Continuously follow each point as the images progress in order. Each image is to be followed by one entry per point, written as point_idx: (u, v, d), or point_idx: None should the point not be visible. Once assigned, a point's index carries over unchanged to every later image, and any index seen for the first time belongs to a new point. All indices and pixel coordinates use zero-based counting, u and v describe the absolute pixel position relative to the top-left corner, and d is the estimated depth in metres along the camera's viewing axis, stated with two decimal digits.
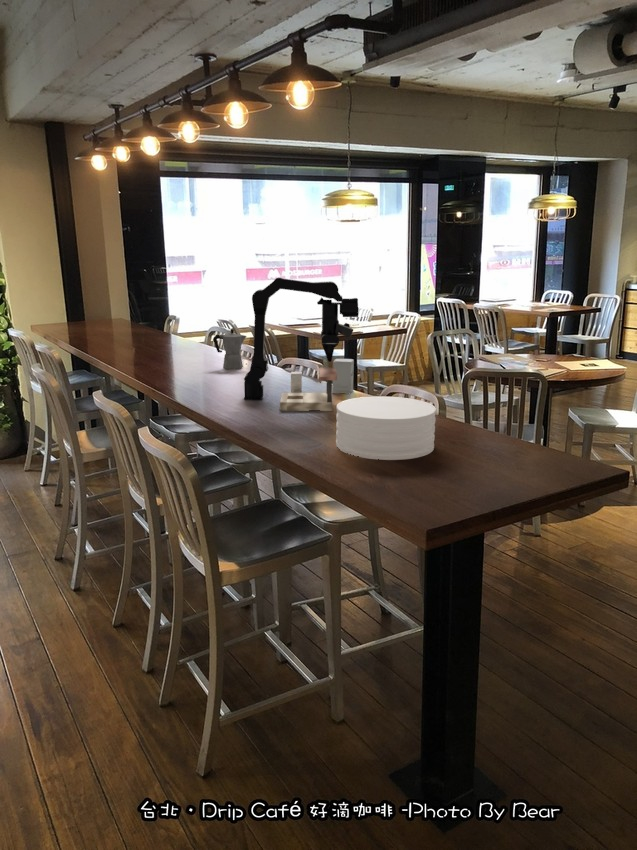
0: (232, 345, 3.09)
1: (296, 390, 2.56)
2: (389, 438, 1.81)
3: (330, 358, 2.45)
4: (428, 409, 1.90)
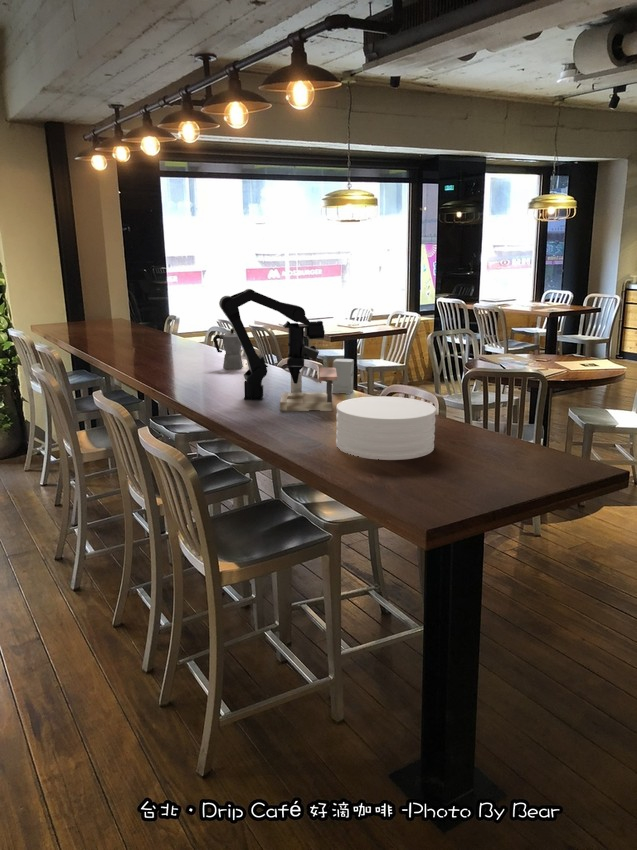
0: (232, 345, 3.09)
1: (296, 390, 2.56)
2: (389, 438, 1.81)
3: (295, 380, 2.51)
4: (428, 409, 1.90)
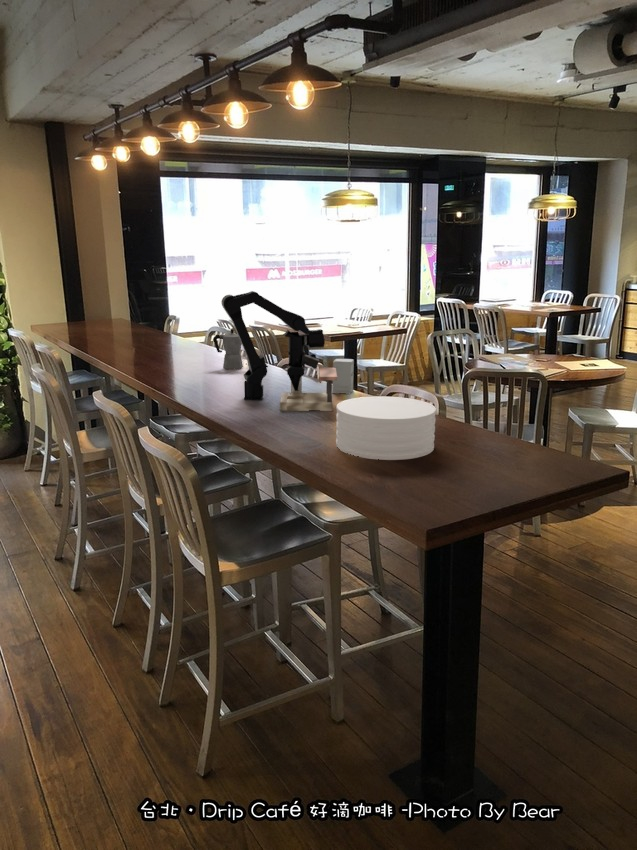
0: (232, 345, 3.09)
1: None
2: (389, 438, 1.81)
3: (296, 388, 2.55)
4: (428, 409, 1.90)
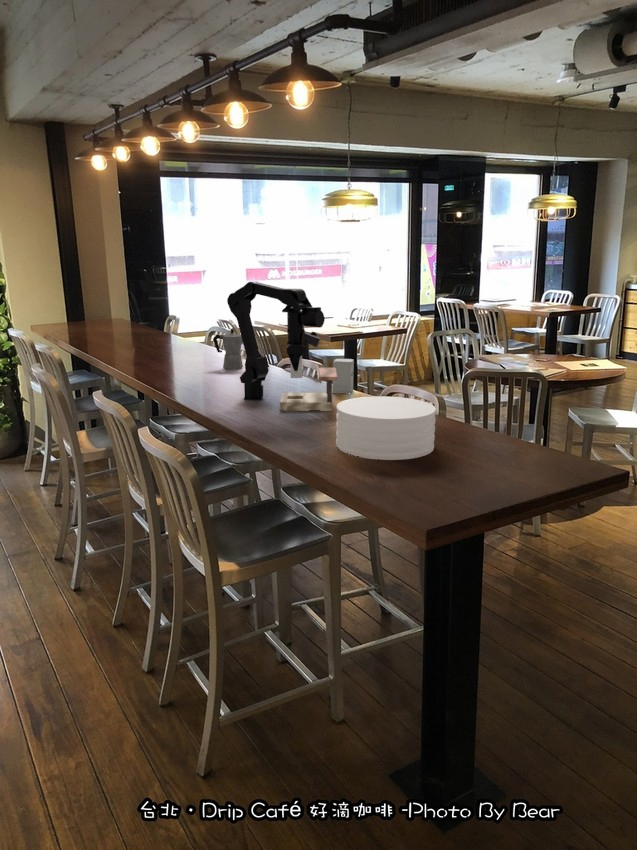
0: (232, 345, 3.09)
1: (296, 371, 2.39)
2: (389, 438, 1.81)
3: (296, 368, 2.38)
4: (428, 409, 1.90)
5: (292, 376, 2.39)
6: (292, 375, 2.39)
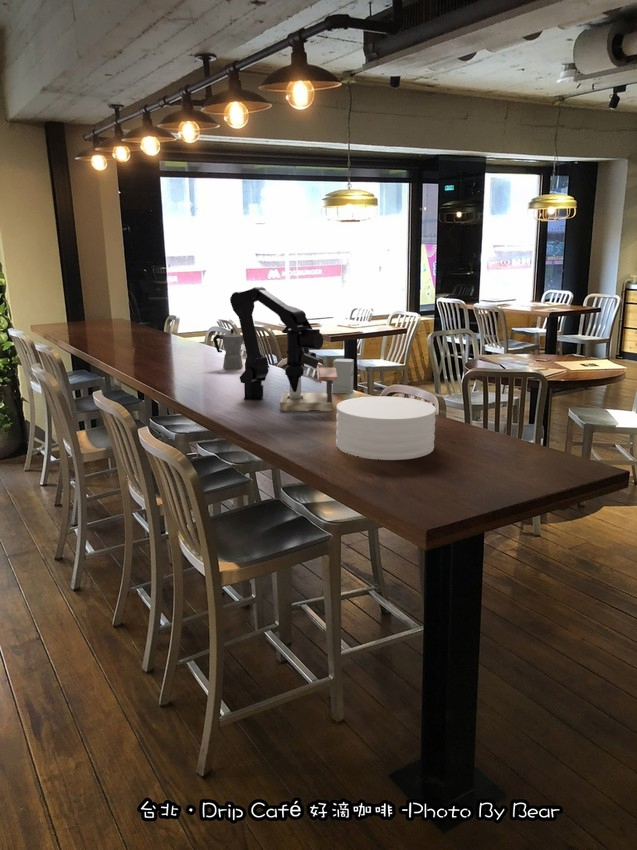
0: (232, 345, 3.09)
1: None
2: (389, 438, 1.81)
3: (295, 389, 2.38)
4: (428, 409, 1.90)
5: (291, 397, 2.40)
6: (291, 396, 2.40)
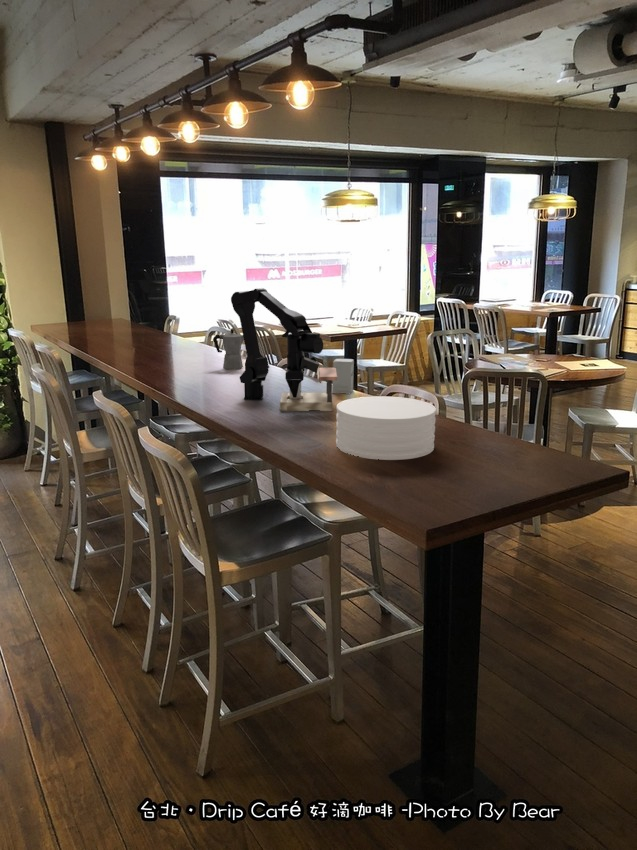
0: (232, 345, 3.09)
1: None
2: (389, 438, 1.81)
3: (295, 394, 2.37)
4: (428, 409, 1.90)
5: None
6: None
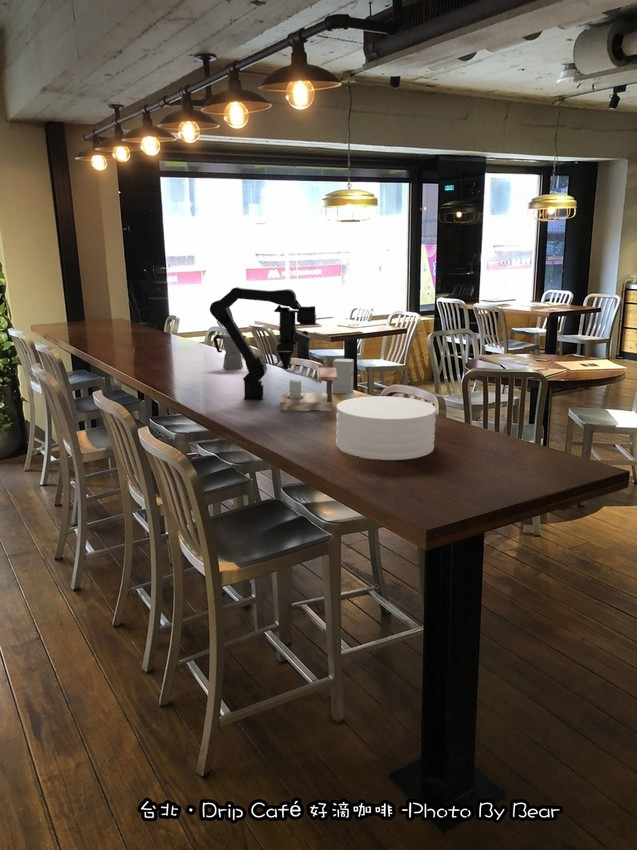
0: (232, 345, 3.09)
1: None
2: (389, 438, 1.81)
3: (286, 366, 2.45)
4: (428, 409, 1.90)
5: None
6: None
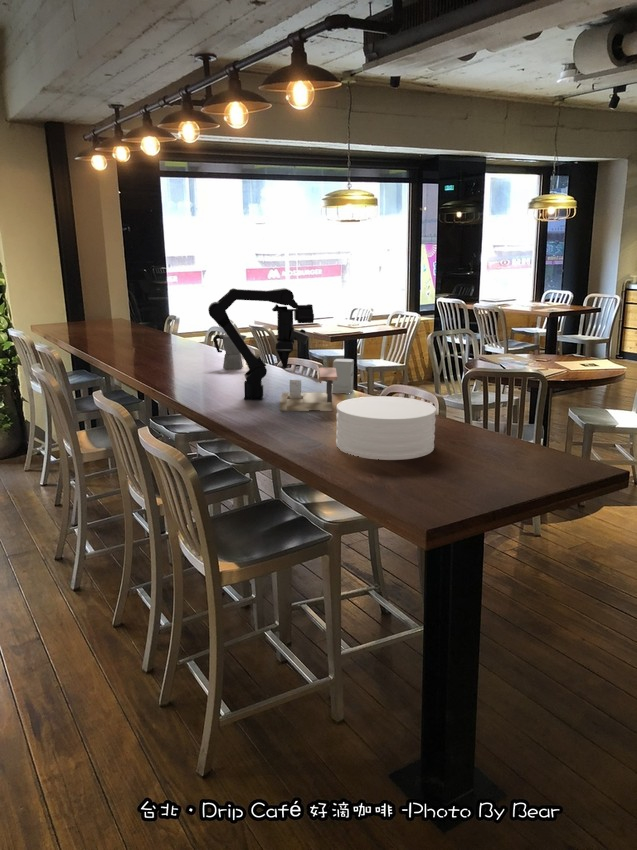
0: (232, 345, 3.09)
1: None
2: (389, 438, 1.81)
3: (285, 365, 2.48)
4: (428, 409, 1.90)
5: None
6: None
